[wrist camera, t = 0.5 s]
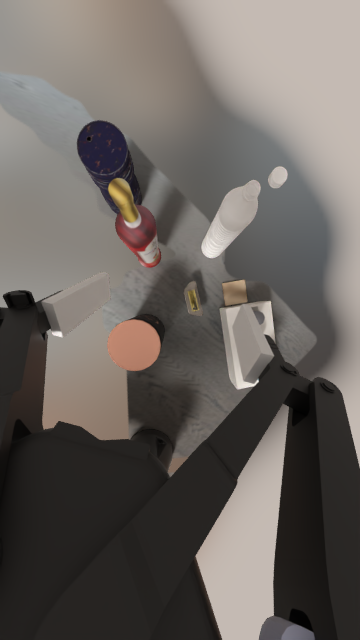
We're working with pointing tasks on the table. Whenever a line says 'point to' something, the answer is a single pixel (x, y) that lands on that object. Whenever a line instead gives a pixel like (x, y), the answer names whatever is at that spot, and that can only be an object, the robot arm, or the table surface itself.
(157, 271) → the table surface
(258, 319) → the button
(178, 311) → the table surface
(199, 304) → the platform
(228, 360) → the housing
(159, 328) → the coffee jar
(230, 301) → the coaster
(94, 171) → the storage jar
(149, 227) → the liquor
